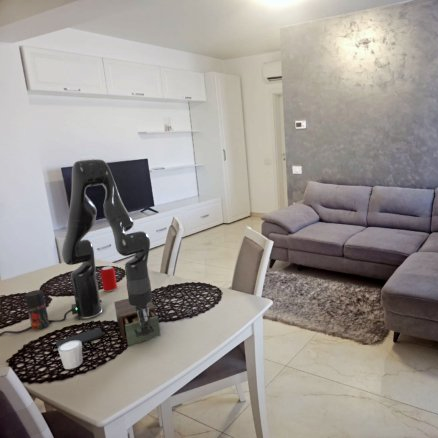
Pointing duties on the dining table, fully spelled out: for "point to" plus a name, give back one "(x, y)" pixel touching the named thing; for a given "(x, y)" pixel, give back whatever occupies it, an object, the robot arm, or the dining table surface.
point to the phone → (83, 337)
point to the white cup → (71, 354)
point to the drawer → (135, 331)
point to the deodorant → (37, 310)
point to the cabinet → (127, 313)
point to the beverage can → (108, 278)
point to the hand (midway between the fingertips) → (145, 334)
